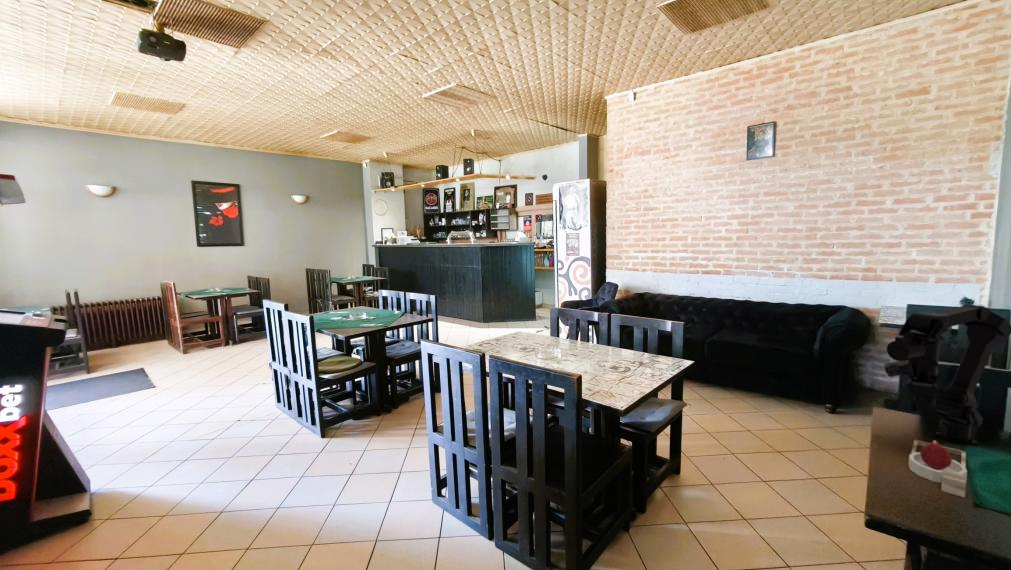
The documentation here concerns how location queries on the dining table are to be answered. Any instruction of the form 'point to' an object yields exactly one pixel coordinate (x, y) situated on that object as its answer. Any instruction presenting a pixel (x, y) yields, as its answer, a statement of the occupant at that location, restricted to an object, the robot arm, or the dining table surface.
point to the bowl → (929, 473)
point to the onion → (936, 456)
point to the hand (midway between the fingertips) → (921, 406)
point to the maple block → (953, 483)
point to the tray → (950, 450)
